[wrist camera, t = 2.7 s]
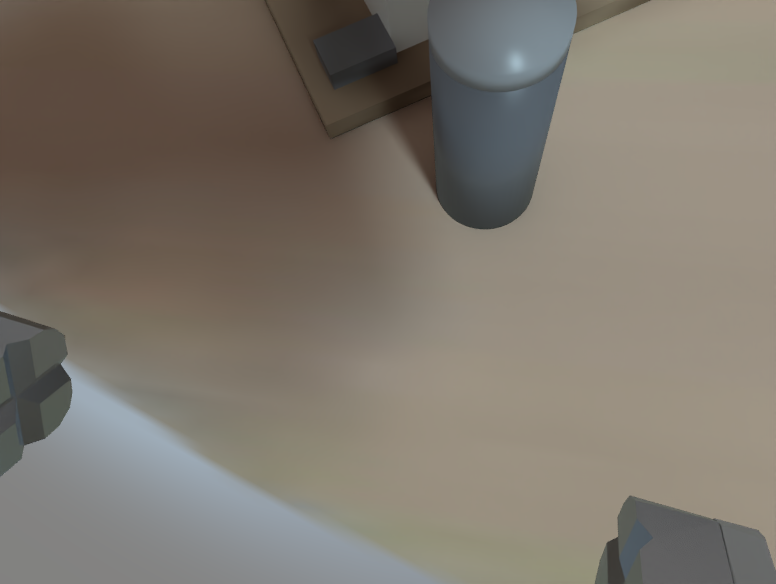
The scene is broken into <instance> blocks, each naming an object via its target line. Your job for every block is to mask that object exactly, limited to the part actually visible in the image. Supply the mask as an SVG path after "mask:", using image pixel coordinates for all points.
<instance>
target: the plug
mask: <svg viewBox="0 0 776 584" xmlns="http://www.w3.org/2000/svg"><path fill="white" fill-rule="evenodd" d="M576 18H577V5H576V0H430V1H429V5H428V12H427V21H428V40H429V59H430V77H431V96H432V115H433V134H434V152H435V171H436V189H437V195H438V199H439V201H440V204H441V205H442V207H443V209H444V210H445V211H446V213H447V214H448V215H449V216H450V217H451V218H453V219H454V220H456V221H457V222H459V223H461V224H463V225H465V226H468V227H471V228H476V229H494V228H498V227H502V226H504V225H507V224H509V223H511V222H512V221H514V220H515V219H517V218H518V217H519V216H520V215H521V214H522V213H523V212H524V211H525V210H526V208H527V206H528V205H529V203H530V200H531V198H532V194H533V190H534V186H535V182H536V178H537V174H538V170H539V166H540V162H541V158H542V154H543V150H544V146H545V142H546V138H547V135H548V131H549V127H550V123H551V119H552V115H553V111H554V107H555V103H556V99H557V95H558V91H559V87H560V83H561V79H562V75H563V71H564V67H565V63H566V59H567V55H568V51H569V47H570V43H571V39H572V35H573V32H574V28H575V24H576Z"/></svg>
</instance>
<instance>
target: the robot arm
mask: <svg viewBox="0 0 776 584" xmlns="http://www.w3.org/2000/svg"><path fill="white" fill-rule="evenodd" d="M67 355H68V352H67V347H66V341H65V335H63V334H62V333H60V332H59V331H58V330H56V329H55V328H51V327H48V326H45V325H42V324H39V323H36V322H33V321H29V320H26V319H23V318H20V317H17V316H14V315H11V314H7V313H4V312H1V311H0V476H2V475H3V474H4V473H5V472H6V471H8V470H9V469H10V468H11V467H12V466H14V464H16V463H17V462H18V461H19V460H21V458H22V453H23V448H24V445H27V444H30V443H33V442H36V441H39V440H42V439H45V438H46V437H47V436H48V435H49V434H51V432H53V431H54V430H55V429H56V428H57V427H58V426H59V425H60V424H61V422H62V420H63V418H64V417H65V415H66V413H67V411H68V410H69V408H70V403H71V397H72V386H71V379H70V377H69V376H68V374H67V373H66V371H65V370H64V368H63V367H62V365H61V363H62V361H63V360H64V359H65V357H66V356H67ZM617 519H618V537H617V538H615V539H613V540H611V541H609V542H607V543H606V546H605V549H604V551H603V554H602V557H601V559H600V562H599V567H598V571H597V575H596V580H595V584H776V570H775V567H774V564H773V561H772V558H771V555H770V552H769V549H768V546H767V542H766V539H765V537H764V536H763V535H762V534H761V533H760V532H759V530H756V529H752V528H748V527H745V526H741V525H737V524H734V523H730V522H726V521H722V520H719V519H711V518H708V517H704V516H701V515H697V514H694V513H690V512H687V511H683V510H680V509H676V508H673V507H669V506H665V505H662V504H658V503H655V502H651V501H648V500H644V499H641V498H637V497H634V496H629V497H628V498H627V500H626V501H625V502H624V504H623V506H622V508H621V511H620V513H619V515H618V517H617Z"/></svg>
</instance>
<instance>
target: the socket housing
mask: <svg viewBox="0 0 776 584" xmlns="http://www.w3.org/2000/svg"><path fill="white" fill-rule="evenodd" d="M364 1H365V3H366V5H367V7H368V9H369V10H370V12H371V14H372V15H374V14H376V13H377V14H378V15H379V17H380V19H381V21H382V23H383V25H384V26H385V28H386V30H387V32H388V34H389V36H390V37H391V39H392V41H393V43H394V45H395V47H396V52H397V53H398V52H400V51H402V50H405V49H407V48H409V47H412V46H414V45H416V44H419V43H421V42H423V41H426V40H428V21H427V12H428V5H429V1H430V0H364Z"/></svg>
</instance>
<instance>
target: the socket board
mask: <svg viewBox="0 0 776 584" xmlns="http://www.w3.org/2000/svg"><path fill="white" fill-rule="evenodd" d="M265 1H266V4H267V6H268V8H269V10H270V12H271V14H272V16H273V18H274V20H275V23H276V25H277V27H278V29H279V31H280V33H281V35H282V37H283V40H284V42H285V44H286V46H287V48H288V50H289V52H290V54H291V57H292V59H293V61H294V63H295V65H296V67H297V69H298V71H299V74H300V76H301V78H302V80H303V82H304V84H305V86H306V88H307V90H308V93H309V95H310V97H311V99H312V101H313V103H314V105H315V107H316V110H317V112H318V114H319V116H320V118H321V120H322V122H323V124H324V127H325V129H326V131H327V133H328V135H329V137H330V139H331V138H333V137H335V136H338V135H340V134H342V133H345V132H347V131H349V130H352V129H354V128H356V127H359V126H361V125H363V124H366V123H368V122H370V121H372V120H375V119H377V118H379V117H382V116H384V115H386V114H389V113H391V112H393V111H396V110H398V109H400V108H403V107H405V106H407V105H409V104H412V103H414V102H416V101H419V100H421V99H423V98H426V97H428V96H430V95H431V77H430V59H429V40H426V41H423V42H421V43H419V44H416V45H414V46H412V47H409V48H407V49H405V50H402V51H400V52H398V53H397V52H396V47H395V45H394V43H393V41H392V39H391V37H390V36H389V34H388V32H387V30H386V28H385V26H384V25H383V23H382V21H381V19H380V17H379V15H378V14H377V13H376V14H374V15H372V14H371V12H370V10H369V9H368V7H367V5H366V3H365V1H364V0H265ZM648 1H650V0H576V5H577V18H576V24H575V28H574V32H573V34H574V33H576V32H578V31H581V30H583V29H585V28H588V27H590V26H592V25H594V24H597V23H599V22H601V21H604V20H606V19H608V18H611V17H613V16H615V15H618V14H620V13H622V12H625V11H627V10H629V9H631V8H634V7H636V6H638V5H641V4H643V3H645V2H648Z"/></svg>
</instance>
